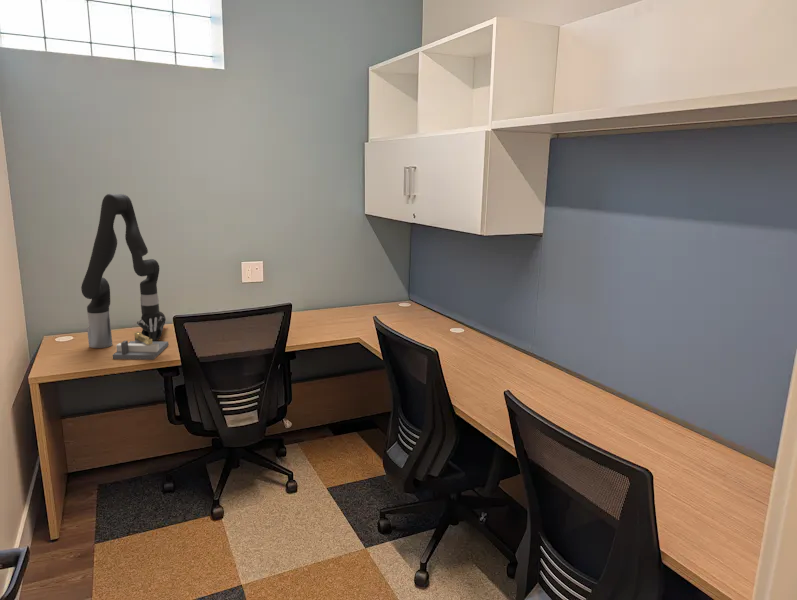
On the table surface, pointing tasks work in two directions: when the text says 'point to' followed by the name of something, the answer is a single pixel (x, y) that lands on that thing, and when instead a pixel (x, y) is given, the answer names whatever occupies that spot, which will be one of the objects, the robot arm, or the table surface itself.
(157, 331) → the muzzle brake
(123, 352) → the lock board
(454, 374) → the table surface
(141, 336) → the swing bar
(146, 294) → the robot arm
